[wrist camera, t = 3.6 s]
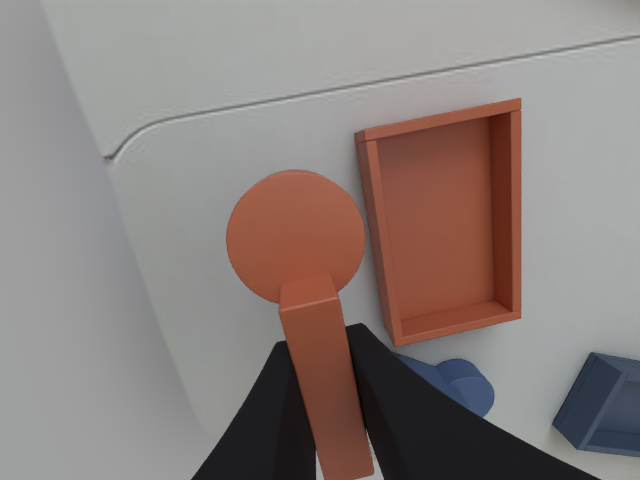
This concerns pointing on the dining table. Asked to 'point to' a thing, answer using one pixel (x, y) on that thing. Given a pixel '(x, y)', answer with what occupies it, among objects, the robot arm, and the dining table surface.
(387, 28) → the dining table surface
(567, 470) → the robot arm
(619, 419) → the slate tray
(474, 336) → the dining table surface
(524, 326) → the dining table surface
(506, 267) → the terracotta tray
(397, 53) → the dining table surface
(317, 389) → the terracotta spoon
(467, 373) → the slate spoon
